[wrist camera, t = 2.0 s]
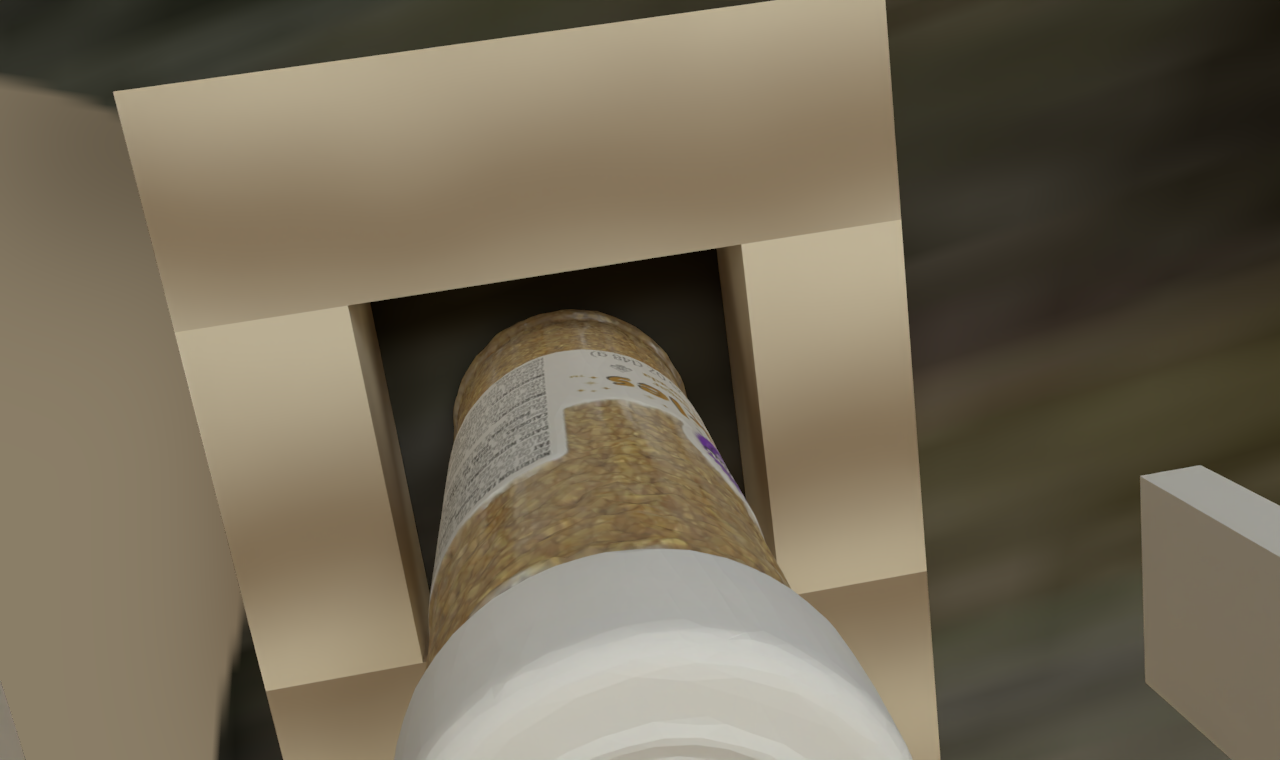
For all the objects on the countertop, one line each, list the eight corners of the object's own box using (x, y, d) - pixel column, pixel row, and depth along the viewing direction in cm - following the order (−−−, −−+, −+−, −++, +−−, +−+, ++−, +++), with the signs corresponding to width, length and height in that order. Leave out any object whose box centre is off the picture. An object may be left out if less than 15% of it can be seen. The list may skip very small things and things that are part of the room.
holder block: (160, 90, 19) (106, 91, 17) (838, -3, 20) (890, -17, 18) (405, 1093, 25) (394, 1214, 23) (920, 984, 26) (969, 1087, 23)
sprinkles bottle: (732, 414, 22) (1062, 882, 9) (568, 572, 22) (662, 1231, 10) (567, 251, 21) (678, 525, 8) (397, 421, 21) (240, 943, 8)
